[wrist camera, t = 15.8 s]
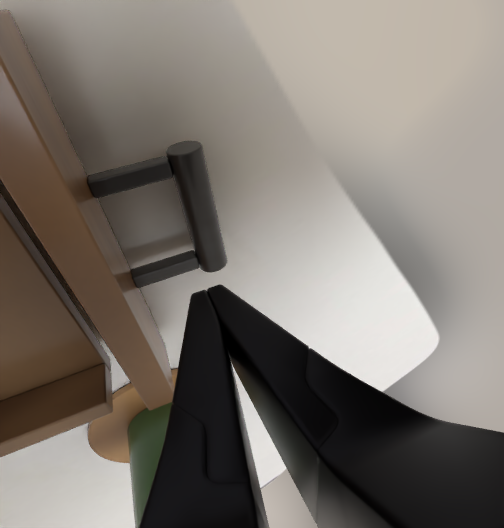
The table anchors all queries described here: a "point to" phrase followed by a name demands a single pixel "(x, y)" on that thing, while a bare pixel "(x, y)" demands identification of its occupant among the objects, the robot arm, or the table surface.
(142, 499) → the can
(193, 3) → the table surface
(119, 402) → the coaster
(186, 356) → the robot arm
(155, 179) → the drawer
